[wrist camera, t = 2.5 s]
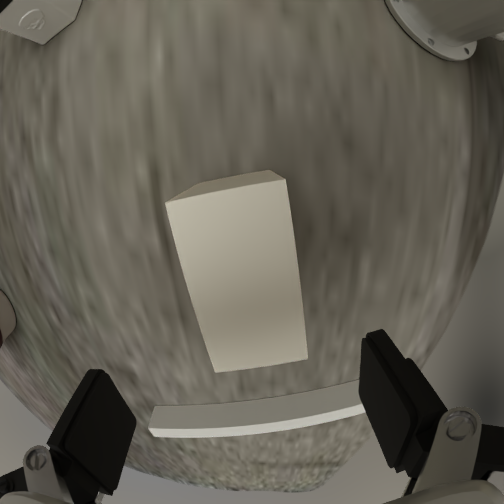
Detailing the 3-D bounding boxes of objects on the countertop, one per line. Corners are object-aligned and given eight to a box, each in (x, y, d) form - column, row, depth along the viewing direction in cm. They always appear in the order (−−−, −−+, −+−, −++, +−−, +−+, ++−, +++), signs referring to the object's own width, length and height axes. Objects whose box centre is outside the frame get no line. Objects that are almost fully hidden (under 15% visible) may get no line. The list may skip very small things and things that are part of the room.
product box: (269, 169, 23) (285, 179, 13) (288, 289, 26) (308, 358, 17) (195, 183, 23) (160, 203, 14) (222, 300, 27) (211, 372, 17)
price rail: (385, 371, 30) (396, 393, 27) (383, 384, 31) (393, 405, 27) (154, 405, 32) (148, 428, 28) (161, 416, 32) (155, 438, 29)
